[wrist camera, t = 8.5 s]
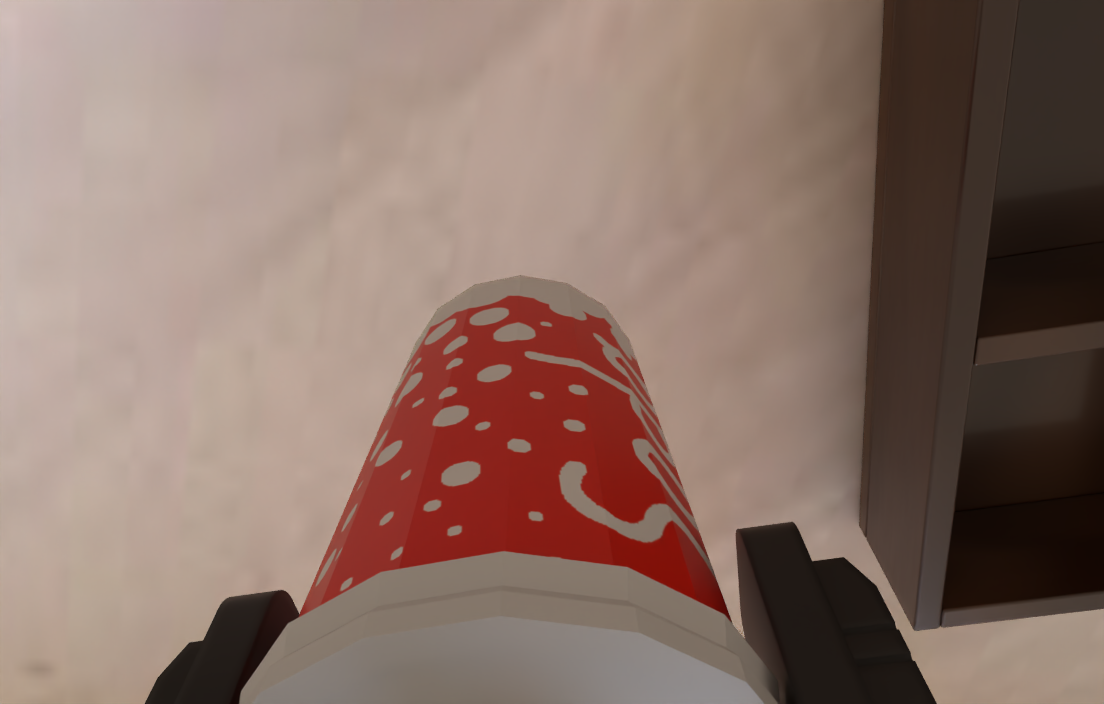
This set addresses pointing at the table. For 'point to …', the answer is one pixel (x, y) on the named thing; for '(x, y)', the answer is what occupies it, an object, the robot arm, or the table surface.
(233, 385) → the table surface
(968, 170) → the divided tray
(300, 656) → the beverage cup
